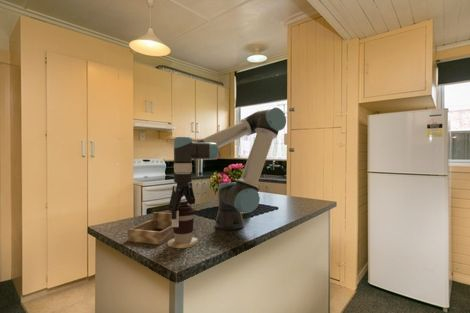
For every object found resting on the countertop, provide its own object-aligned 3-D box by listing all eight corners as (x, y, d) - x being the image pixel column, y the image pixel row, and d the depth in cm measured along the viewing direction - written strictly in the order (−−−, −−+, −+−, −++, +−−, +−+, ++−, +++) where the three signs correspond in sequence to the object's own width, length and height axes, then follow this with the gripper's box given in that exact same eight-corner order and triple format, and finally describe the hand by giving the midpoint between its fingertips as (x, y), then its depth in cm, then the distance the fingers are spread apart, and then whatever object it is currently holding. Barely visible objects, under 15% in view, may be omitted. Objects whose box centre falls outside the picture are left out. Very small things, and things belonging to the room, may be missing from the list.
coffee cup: (198, 242, 110) (198, 207, 109) (176, 246, 104) (176, 209, 104) (189, 235, 118) (189, 203, 117) (168, 239, 112) (168, 205, 112)
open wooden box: (183, 230, 129) (183, 214, 128) (161, 244, 108) (161, 225, 108) (155, 227, 133) (154, 212, 133) (127, 240, 113) (127, 222, 113)
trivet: (202, 239, 115) (202, 237, 115) (190, 249, 103) (190, 248, 103) (176, 236, 119) (176, 235, 119) (161, 246, 106) (161, 244, 106)
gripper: (187, 170, 123) (187, 215, 123) (159, 175, 99) (159, 230, 99) (202, 171, 121) (202, 216, 121) (176, 175, 97) (176, 231, 97)
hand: (182, 222), depth 110 cm, fingers open, 13 cm apart
